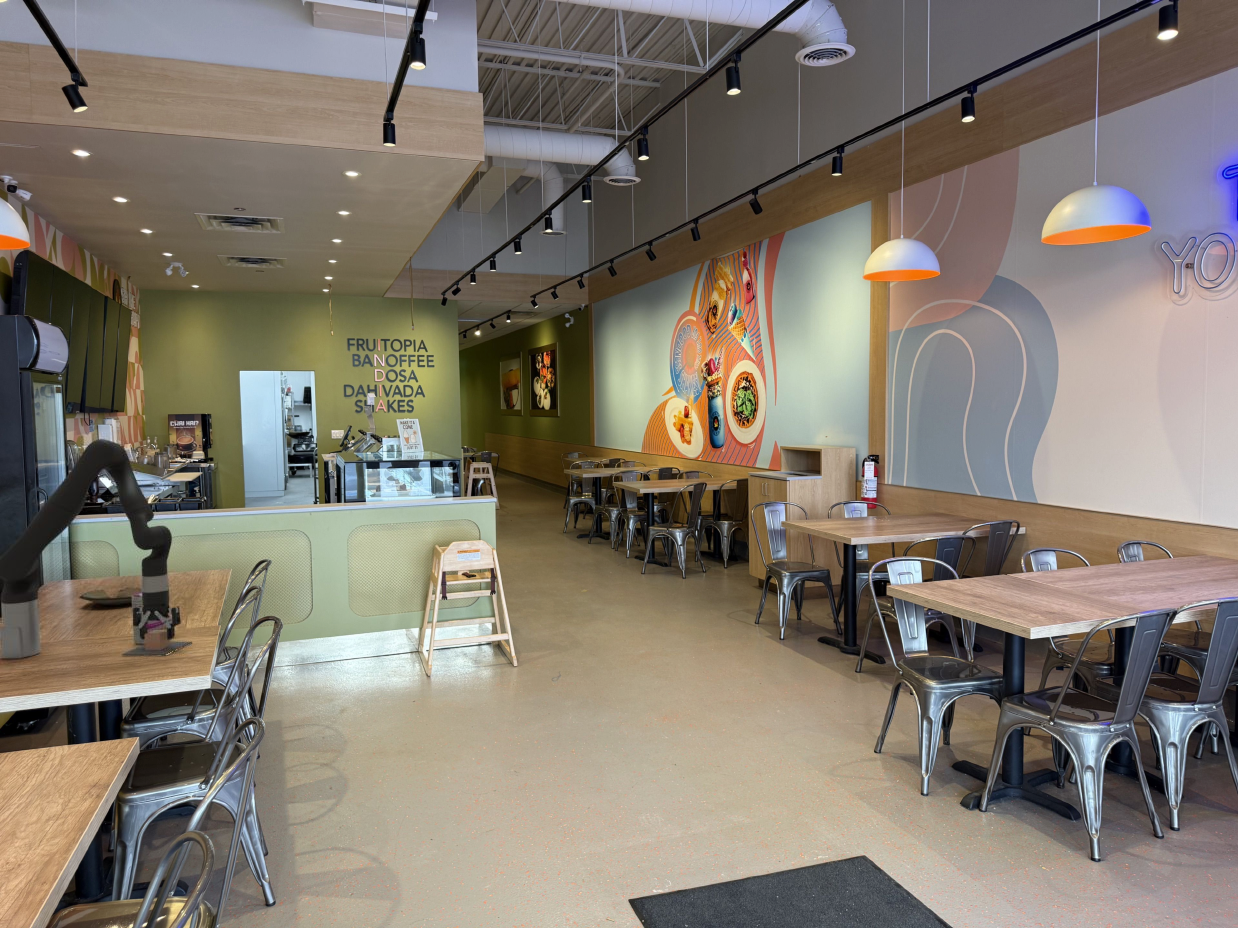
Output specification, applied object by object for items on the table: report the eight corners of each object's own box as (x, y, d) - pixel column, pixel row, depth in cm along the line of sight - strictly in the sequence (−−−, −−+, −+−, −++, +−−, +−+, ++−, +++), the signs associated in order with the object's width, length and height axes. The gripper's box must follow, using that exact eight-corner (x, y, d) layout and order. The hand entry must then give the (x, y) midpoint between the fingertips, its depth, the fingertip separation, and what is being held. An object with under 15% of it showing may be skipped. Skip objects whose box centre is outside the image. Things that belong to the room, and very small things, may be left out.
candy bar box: (158, 635, 270) (156, 587, 269) (171, 635, 269) (169, 588, 268) (132, 644, 259) (130, 594, 258) (145, 644, 258) (143, 595, 257)
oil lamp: (80, 602, 320) (79, 584, 320) (165, 593, 337) (164, 575, 336) (78, 614, 302) (77, 594, 301) (169, 603, 318) (168, 584, 317)
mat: (165, 656, 246) (165, 654, 246) (122, 655, 246) (122, 653, 246) (192, 643, 260) (191, 641, 260) (150, 643, 260) (150, 641, 260)
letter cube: (160, 649, 250) (159, 633, 250) (145, 649, 251) (144, 633, 250) (170, 645, 255) (169, 629, 255) (155, 645, 256) (154, 629, 255)
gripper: (125, 591, 248) (128, 642, 249) (169, 591, 248) (172, 642, 249) (141, 586, 256) (143, 635, 257) (184, 586, 255) (186, 635, 256)
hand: (157, 638), depth 253 cm, fingers open, 8 cm apart
